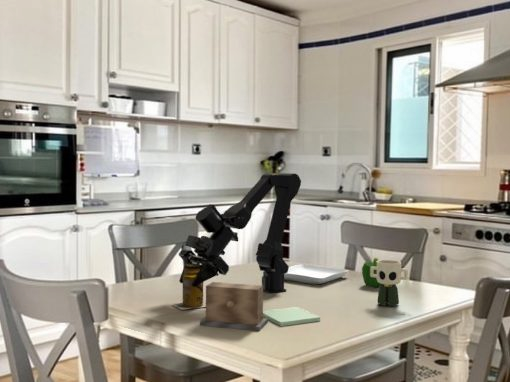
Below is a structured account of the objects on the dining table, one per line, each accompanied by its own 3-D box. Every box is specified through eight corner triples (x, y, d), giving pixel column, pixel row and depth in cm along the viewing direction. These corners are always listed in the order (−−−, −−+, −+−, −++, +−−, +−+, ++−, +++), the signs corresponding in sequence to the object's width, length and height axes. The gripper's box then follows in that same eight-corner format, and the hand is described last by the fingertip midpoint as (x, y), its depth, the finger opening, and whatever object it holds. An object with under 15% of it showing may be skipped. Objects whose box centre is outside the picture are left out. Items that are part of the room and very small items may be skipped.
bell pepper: (363, 282, 202) (363, 254, 202) (386, 284, 200) (387, 255, 199) (360, 287, 194) (360, 258, 194) (385, 289, 192) (385, 259, 191)
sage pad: (296, 310, 163) (297, 306, 163) (320, 320, 153) (320, 317, 153) (259, 314, 158) (259, 311, 158) (280, 326, 147) (280, 322, 147)
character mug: (367, 305, 169) (368, 262, 168) (371, 300, 176) (372, 258, 175) (405, 309, 165) (406, 264, 165) (408, 303, 172) (409, 261, 171)
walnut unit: (199, 325, 147) (200, 286, 147) (210, 317, 155) (211, 280, 154) (259, 330, 143) (260, 291, 142) (267, 322, 151) (268, 284, 150)
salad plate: (300, 271, 224) (300, 262, 223) (350, 278, 211) (350, 269, 211) (270, 280, 206) (270, 270, 206) (322, 288, 194) (322, 278, 194)
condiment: (208, 306, 166) (208, 265, 166) (182, 310, 161) (182, 268, 161) (197, 301, 172) (197, 262, 172) (171, 305, 167) (171, 264, 167)
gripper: (183, 222, 175) (152, 262, 168) (221, 228, 161) (188, 271, 154) (204, 246, 181) (174, 285, 174) (242, 253, 167) (211, 296, 160)
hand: (186, 284), depth 165 cm, fingers closed on condiment, 6 cm apart
